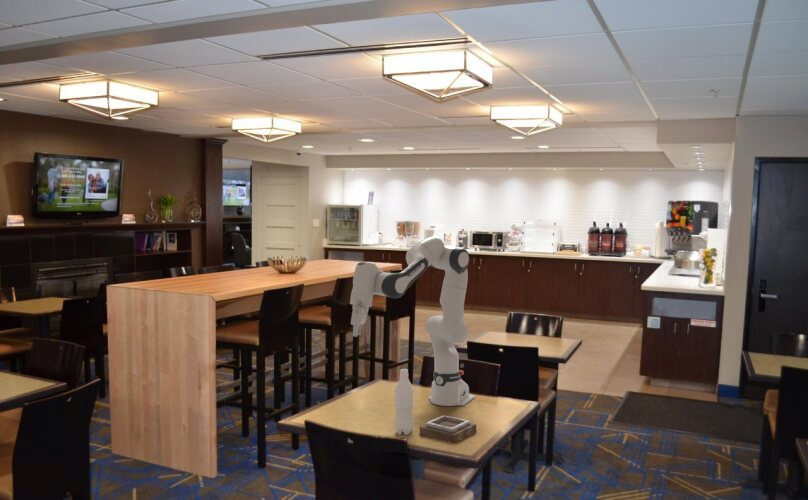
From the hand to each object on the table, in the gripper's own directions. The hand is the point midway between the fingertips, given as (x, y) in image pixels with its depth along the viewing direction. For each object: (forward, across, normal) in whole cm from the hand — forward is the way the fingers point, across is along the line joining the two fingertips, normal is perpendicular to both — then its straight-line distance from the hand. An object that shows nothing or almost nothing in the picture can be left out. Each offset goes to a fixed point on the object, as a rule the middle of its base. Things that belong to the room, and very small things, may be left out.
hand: (356, 335), depth 260 cm
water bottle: (+35, -3, -24) cm, 42 cm away
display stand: (+32, -2, -41) cm, 52 cm away
